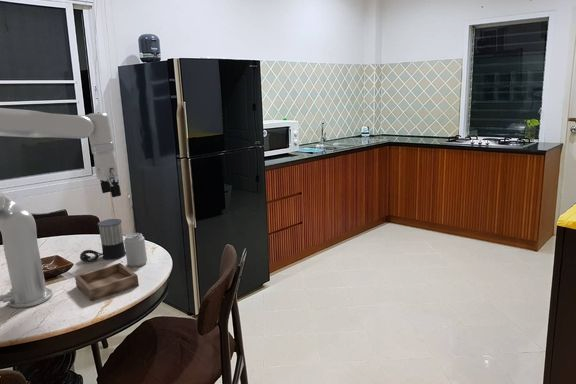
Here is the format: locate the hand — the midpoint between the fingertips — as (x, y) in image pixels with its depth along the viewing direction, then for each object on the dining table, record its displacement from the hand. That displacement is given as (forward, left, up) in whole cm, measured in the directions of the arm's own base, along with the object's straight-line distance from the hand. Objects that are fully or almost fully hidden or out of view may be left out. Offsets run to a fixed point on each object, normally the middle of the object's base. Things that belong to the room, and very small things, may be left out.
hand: (111, 194), depth 162 cm
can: (+7, +2, -30) cm, 31 cm away
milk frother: (0, +19, -30) cm, 35 cm away
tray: (-9, -10, -30) cm, 33 cm away
